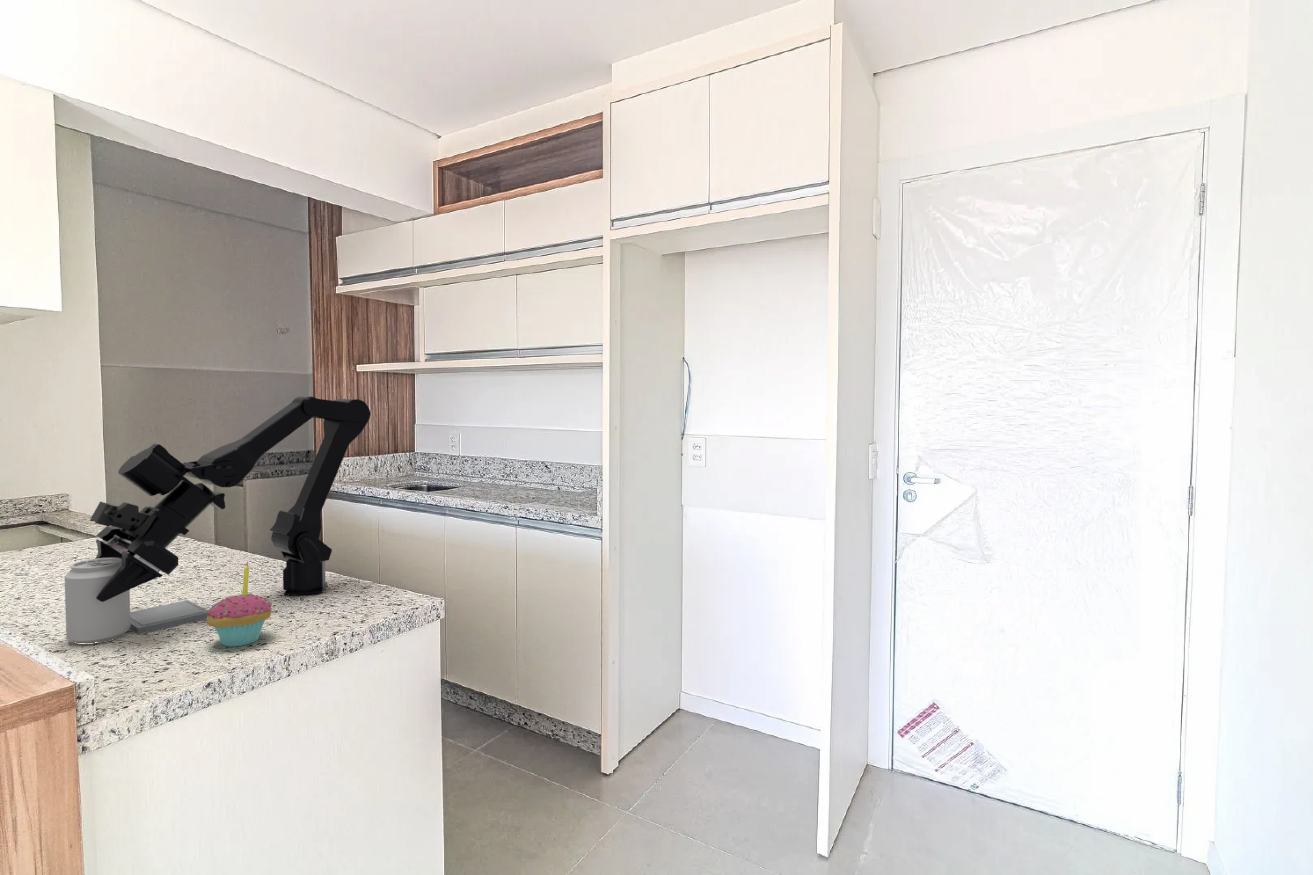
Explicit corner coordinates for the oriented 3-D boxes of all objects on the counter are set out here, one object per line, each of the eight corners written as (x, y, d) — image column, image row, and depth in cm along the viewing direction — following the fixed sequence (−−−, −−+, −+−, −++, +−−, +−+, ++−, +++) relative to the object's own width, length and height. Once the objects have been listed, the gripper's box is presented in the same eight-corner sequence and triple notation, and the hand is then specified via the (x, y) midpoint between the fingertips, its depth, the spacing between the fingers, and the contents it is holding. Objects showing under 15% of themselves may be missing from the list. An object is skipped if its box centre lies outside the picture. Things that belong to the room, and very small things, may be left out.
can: (93, 648, 95) (90, 569, 94) (53, 644, 96) (50, 565, 95) (143, 631, 102) (141, 557, 101) (105, 627, 103) (103, 553, 103)
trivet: (187, 605, 114) (187, 599, 114) (211, 617, 109) (210, 611, 109) (117, 620, 106) (117, 614, 106) (138, 634, 100) (138, 627, 100)
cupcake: (228, 631, 103) (227, 557, 102) (283, 630, 103) (282, 557, 103) (194, 652, 94) (192, 572, 93) (255, 651, 95) (253, 572, 94)
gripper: (111, 477, 107) (21, 554, 98) (152, 488, 96) (55, 576, 87) (169, 517, 113) (89, 593, 105) (212, 532, 103) (128, 617, 94)
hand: (89, 594), depth 98 cm, fingers open, 9 cm apart
